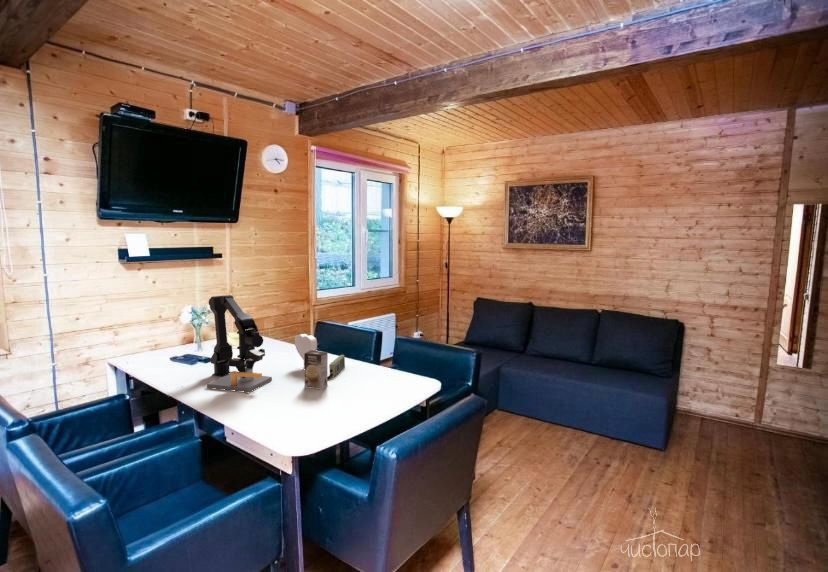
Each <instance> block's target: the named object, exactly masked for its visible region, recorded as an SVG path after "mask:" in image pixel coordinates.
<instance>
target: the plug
mask: <svg viewBox="0 0 828 572" xmlns="http://www.w3.org/2000/svg"><path fill="white" fill-rule="evenodd" d="M253 369H254V368H253ZM253 369H250V368H246V369H245V372H250V373H254V372H253V371H254V370H253ZM252 379H253V377H245V378H242V377H240V381H250V380H252Z"/></svg>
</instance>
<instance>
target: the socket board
mask: <svg viewBox="0 0 828 572" xmlns="http://www.w3.org/2000/svg"><path fill="white" fill-rule="evenodd" d="M270 381H271V382H272V381H273V377H272V376H267V375H266V376H265V375H262V377H260V378H257V377H253V379H252V380H250V381H240V377H239V376H237V385H231V373H230V374H227V375H225V376H221V377H220V378H218V379H214V380H213V381H212V380H211V382H208V383H206V389H210V388H216V389H215V390H219V389H225V390H224V391H228V390H235V391H234V392H237V391H244V392H243V393H246V392H249V393H251V392H253V391H255V390H257V389H259V388H261V387H263V386H265V385H266V383H267V384H269V383H271V382H270ZM268 382H269V383H268ZM264 384H265V385H264ZM262 385H263V386H262ZM260 386H261V387H260ZM258 387H259V388H258ZM256 388H257V389H256ZM254 389H255V390H254ZM252 390H253V391H252ZM250 391H251V392H250Z"/></svg>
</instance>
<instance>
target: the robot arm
mask: <svg viewBox="0 0 828 572" xmlns="http://www.w3.org/2000/svg"><path fill="white" fill-rule="evenodd" d="M208 306H209V309H210V310H211V313H213V315H214V316H213V317H214V328H215V336H216V337H215V338H216V344H215V346H214V348H213V353H212V355H211V357H210V360H209V361H210V363H211V364H212V365H213V369H214V370H213V371H214V373H212V376H214V375H215V377H224V376H227V375H229V373H230V374H231V372H232V371H230V370H231V369H230V367H232V368H236V371H237V372H245V369H246V368H250V369H254V366H255V364H256V363H257V362H260V361H262V360H263V358H264V357H265V356H266V351H265V348H264V347H263V348H260V349H256V348H259V347H261V346H263V343H264V338H263V336H262V335H260V332H259V329H258V326H257V324H256V321H255V320H254V318H253V317H252V316H251V315H250V314H248V313H246V312H244V310H243V309H242V308H241V307H240V306H239V305H238V303H237V301H236V300H235V299H234V296H233V295H231V294H229V295H215V296H214V295H213V296H211V297H210V298H209V300H208ZM227 310H228V312H229V313H230V315H231V316H232V317H233V319H234V325H235V327H236V329H237V331H236V334H237V335H238V346H237V347H236V348H237V349H236V350H239V353H238V354H237V358H236V357H234V358H233V355H234V352H233V346H232V344H230V343H229V341H228V336H227V335H228V334H227V333H228V332H227V321H226V312H227ZM242 378H245V377H242Z"/></svg>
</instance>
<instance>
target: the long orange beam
mask: <svg viewBox="0 0 828 572" xmlns="http://www.w3.org/2000/svg"><path fill="white" fill-rule="evenodd" d="M230 372H231V373H230V374H231V385H237V376H239V377H257V378H260V377H262V376H263V373H262V372H253V373H250V372H239V371H237V370H235V371H234V370H233V371H230Z"/></svg>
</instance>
